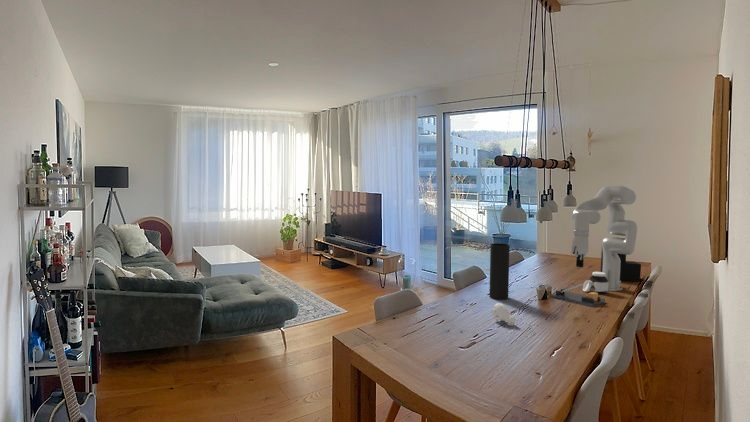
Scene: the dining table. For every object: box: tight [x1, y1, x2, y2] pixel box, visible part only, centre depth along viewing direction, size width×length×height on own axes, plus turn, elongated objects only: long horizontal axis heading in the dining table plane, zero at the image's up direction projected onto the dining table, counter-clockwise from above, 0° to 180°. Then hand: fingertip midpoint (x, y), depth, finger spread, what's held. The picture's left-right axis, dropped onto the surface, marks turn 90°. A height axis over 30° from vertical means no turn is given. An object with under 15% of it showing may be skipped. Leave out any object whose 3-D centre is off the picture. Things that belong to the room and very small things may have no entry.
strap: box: [559, 282, 584, 293], centre depth 254 cm, size 4×14×1 cm, turn 38°
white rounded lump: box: [491, 302, 516, 327], centre depth 211 cm, size 6×8×12 cm
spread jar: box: [582, 271, 609, 295], centre depth 267 cm, size 12×11×12 cm
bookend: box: [599, 248, 644, 282], centre depth 300 cm, size 23×11×24 cm, turn 83°
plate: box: [549, 288, 606, 308], centre depth 251 cm, size 14×24×4 cm, turn 38°
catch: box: [585, 291, 599, 301], centre depth 245 cm, size 5×5×4 cm
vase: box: [488, 242, 511, 301], centre depth 255 cm, size 10×10×30 cm
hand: (579, 266), depth 249 cm, fingers closed
